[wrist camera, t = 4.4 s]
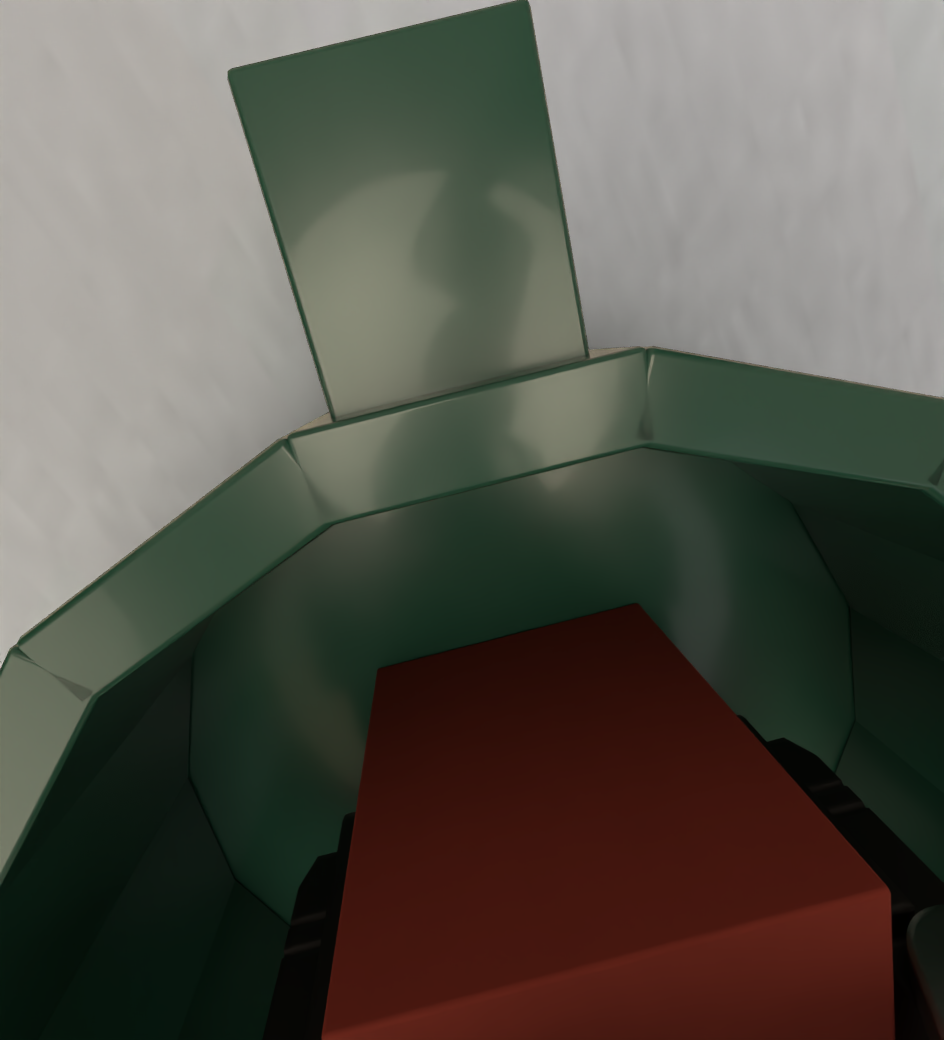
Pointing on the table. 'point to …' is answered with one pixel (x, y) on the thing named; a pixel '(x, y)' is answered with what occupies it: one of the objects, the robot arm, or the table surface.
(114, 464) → the table surface
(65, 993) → the pot
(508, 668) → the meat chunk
